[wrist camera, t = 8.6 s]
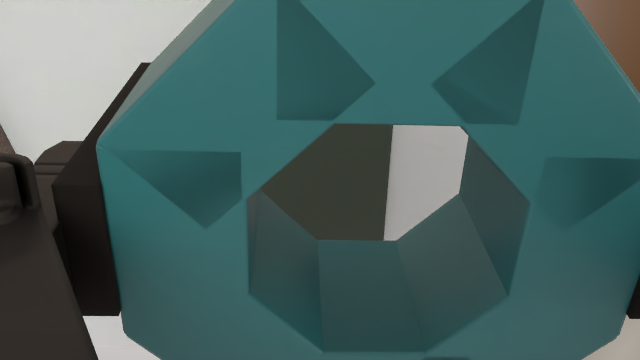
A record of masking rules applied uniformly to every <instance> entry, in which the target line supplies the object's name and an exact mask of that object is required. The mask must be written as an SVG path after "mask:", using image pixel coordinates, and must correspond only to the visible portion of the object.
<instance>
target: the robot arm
mask: <svg viewBox="0 0 640 360" xmlns="http://www.w3.org/2000/svg"><path fill="white" fill-rule="evenodd" d="M150 64H151V63H141V64H140V65H139V67H138V68H137V70H136V71H135V72H134V74H133V75H132V76H131V78H130V79H129V80H128V82H127V83H126V84H125V86H124V87H123V88H122V90H121V91H120V92H119V94H118V95H117V96H116V98H115V99H114V101H113V102H112V103H111V105H110V106H109V107H108V109H107V110H106V111H105V113H104V114H103V115H102V117H101V118H100V119H99V121H98V122H97V123H96V125H95V126H94V128H93V129H92V130H91V132H90V133H89V134H88V136H87V137H86V138H85V140H84V141H62V142H60V143H58V144H56V145H55V146H53V147H51V148H49V149H47V150H45V151H44V152H43V153H42V154H41V156H40V157H39V158H38V159H37V160H36V162H35V163H34V165H33V162H32V161H31V160H30V159H29V158H28V157H25V156H22V155H19V154H11V153H0V360H98V357H97V354H96V352H95V349H94V346H93V344H92V341H91V338H90V335H89V333H88V330H87V327H86V324H85V322H84V319H83V316H119V313H120V311H121V309H120V302H119V296H118V289H117V282H116V276H115V269H114V263H113V256H112V249H111V243H110V236H109V229H108V223H107V216H106V210H105V203H104V196H103V190H102V183H101V179H100V172H99V165H98V159H97V152H96V144H97V141H98V138H99V137H100V135H101V134H102V132H103V131H104V130H105V128H106V127H107V125H108V124H109V122H110V121H111V120H112V118H113V117H114V115H115V114H116V112H117V111H118V110H119V108H120V107H121V105H122V104H123V102H124V101H125V99H126V98H127V97H128V95H129V94H130V92H131V91H132V89H133V88H134V87H135V85H136V84H137V82H138V81H139V79H140V78H141V77H142V75H143V74H144V72H145V71H146V69H147V68H148V67H149V65H150ZM626 314H627V315H628V317H629V318H630V319H640V276H639V279H638V281H637V284H636V287H635V290H634V293H633V296H632V299H631V301H630V304H629V307H628V310H627V313H626Z"/></svg>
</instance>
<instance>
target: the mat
mask: <svg viewBox="0 0 640 360" xmlns="http://www.w3.org/2000/svg"><path fill="white" fill-rule="evenodd" d="M392 128H393V125H385V124H336V123H335V124H334V125H332V126H331V127H330V128H329V129H328V130H327V131H325V132H324V133H323V134H322V135H321V136H320V137H319V138H317V139H316V140H315V141H314V142H313V143H312V144H310V145H309V146H308V147H307V148H306V149H305V150H304V151H302V152H301V153H300V154H299V155H298V156H297V157H295V158H294V159H293V160H292V161H291V162H290V163H289V164H287V165H286V166H285V167H284V168H283V169H282V170H280V171H279V172H278V173H277V174H276V175H275V176H273V177H272V178H271V179H270V180H269V181H268V182H267V183H265V184H264V185H263V186H262V187H261V192H263V193H264V194H265V195H266V196H267V197H268V198H269V199H270V200H272V201H273V202H274V203H275V204H276V205H277V206H278V207H280V208H281V209H282V210H283V211H284V212H285V213H286V214H288V215H289V216H290V217H291V218H292V219H293V220H294V221H296V222H297V223H298V224H299V225H300V226H301V227H302V228H304V229H305V230H306V231H307V232H308V233H309V234H310V235H312V236H313V237H314V238H315V239H316V240H363V241H383V237H384V225H385V213H386V201H387V189H388V177H389V164H390V152H391V140H392Z"/></svg>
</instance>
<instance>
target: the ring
mask: <svg viewBox="0 0 640 360" xmlns="http://www.w3.org/2000/svg"><path fill="white" fill-rule="evenodd" d="M335 123H336V124H385V125H434V126H460V127H461V128H462V129H463V130H464V131H465V133H466V134H467V135H468V136H469V137H468V143H467V149H466V155H465V161H464V167H463V173H462V179H461V185H460V191H459V194H457V195H456V196H455V197H453V198H452V199H451V200H449V201H448V202H447V203H446V204H444V205H443V206H442V207H440V208H439V209H438V210H436V211H435V212H434V213H432V214H431V215H430V216H428V217H427V218H426V219H424V220H423V221H422V222H420V223H419V224H418V225H416V226H415V227H414V228H412V229H411V230H410V231H408V232H407V233H406V234H405V235H403V236H402V237H401V238H399V239H398V240H397V241H363V240H316V239H315V238H314V237H313V236H312V235H310V234H309V233H308V232H307V231H306V230H305V229H304V228H302V227H301V226H300V225H299V224H298V223H297V222H296V221H294V220H293V219H292V218H291V217H290V216H289V215H288V214H286V213H285V212H284V211H283V210H282V209H281V208H280V207H278V206H277V205H276V204H275V203H274V202H273V201H272V200H270V199H269V198H268V197H267V196H266V195H265V194H264V193H263V192H261V187H262V186H263V185H264V184H265V183H267V182H268V181H269V180H270V179H271V178H272V177H273V176H275V175H276V174H277V173H278V172H279V171H280V170H282V169H283V168H284V167H285V166H286V165H287V164H289V163H290V162H291V161H292V160H293V159H294V158H295V157H297V156H298V155H299V154H300V153H301V152H302V151H304V150H305V149H306V148H307V147H308V146H309V145H310V144H312V143H313V142H314V141H315V140H316V139H317V138H319V137H320V136H321V135H322V134H323V133H324V132H325V131H327V130H328V129H329V128H330V127H331V126H332V125H334V124H335ZM96 152H97V159H98V165H99V172H100V179H101V183H102V190H103V196H104V203H105V210H106V216H107V223H108V229H109V236H110V243H111V249H112V256H113V263H114V269H115V276H116V282H117V289H118V296H119V302H120V309H121V317H122V324H123V330H124V333H125V334H126V335H127V336H128V337H129V338H130V339H132V340H133V341H134V342H136V343H137V344H139V345H140V346H142V347H143V348H145V349H146V350H148V351H149V352H151V353H152V354H154V355H155V356H157V357H158V358H160V359H161V360H582V359H583V358H585V357H586V356H588V355H590V354H591V353H593V352H595V351H596V350H598V349H600V348H601V347H603V346H605V345H606V344H608V343H609V342H611V341H613V340H614V339H616V337H617V336H618V335H619V334H620V331H621V328H622V325H623V323H624V320H625V317H626V313H627V310H628V307H629V304H630V301H631V299H632V296H633V293H634V290H635V287H636V284H637V281H638V279H639V276H640V94H639V92H638V91H637V90H636V88H635V87H634V85H633V84H632V83H631V81H630V80H629V78H628V77H627V76H626V74H625V73H624V71H623V70H622V68H621V67H620V66H619V64H618V63H617V62H616V60H615V59H614V57H613V56H612V55H611V53H610V52H609V50H608V49H607V48H606V46H605V45H604V43H603V42H602V40H601V39H600V38H599V36H598V35H597V33H596V32H595V30H594V29H593V28H592V26H591V25H590V23H589V22H588V21H587V19H586V18H585V16H584V15H583V14H582V12H581V11H580V9H579V8H578V7H577V5H576V4H575V2H574V1H573V0H212V1H211V2H210V3H209V4H208V5H207V6H206V7H205V8H204V9H203V10H202V11H201V12H200V13H199V14H198V16H197V17H196V18H195V19H194V20H193V21H192V22H191V23H190V24H189V25H188V26H187V27H186V28H185V29H184V30H183V31H182V32H181V33H180V34H179V35H178V36H177V37H176V38H175V39H174V40H173V41H172V42H171V43H170V44H169V45H168V46H167V47H166V49H165V50H164V51H163V52H162V53H161V54H160V55H159V56H158V57H157V58H156V59H155V60H154V61H153V62H152V63H151V64H150V65H149V67H148V68H147V69H146V71H145V72H144V74H143V75H142V77H141V78H140V79H139V81H138V82H137V84H136V85H135V87H134V88H133V89H132V91H131V92H130V94H129V95H128V97H127V98H126V99H125V101H124V102H123V104H122V105H121V107H120V108H119V110H118V111H117V112H116V114H115V115H114V117H113V118H112V120H111V121H110V122H109V124H108V125H107V127H106V128H105V130H104V131H103V132H102V134H101V135H100V137H99V138H98V141H97V144H96Z"/></svg>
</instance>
